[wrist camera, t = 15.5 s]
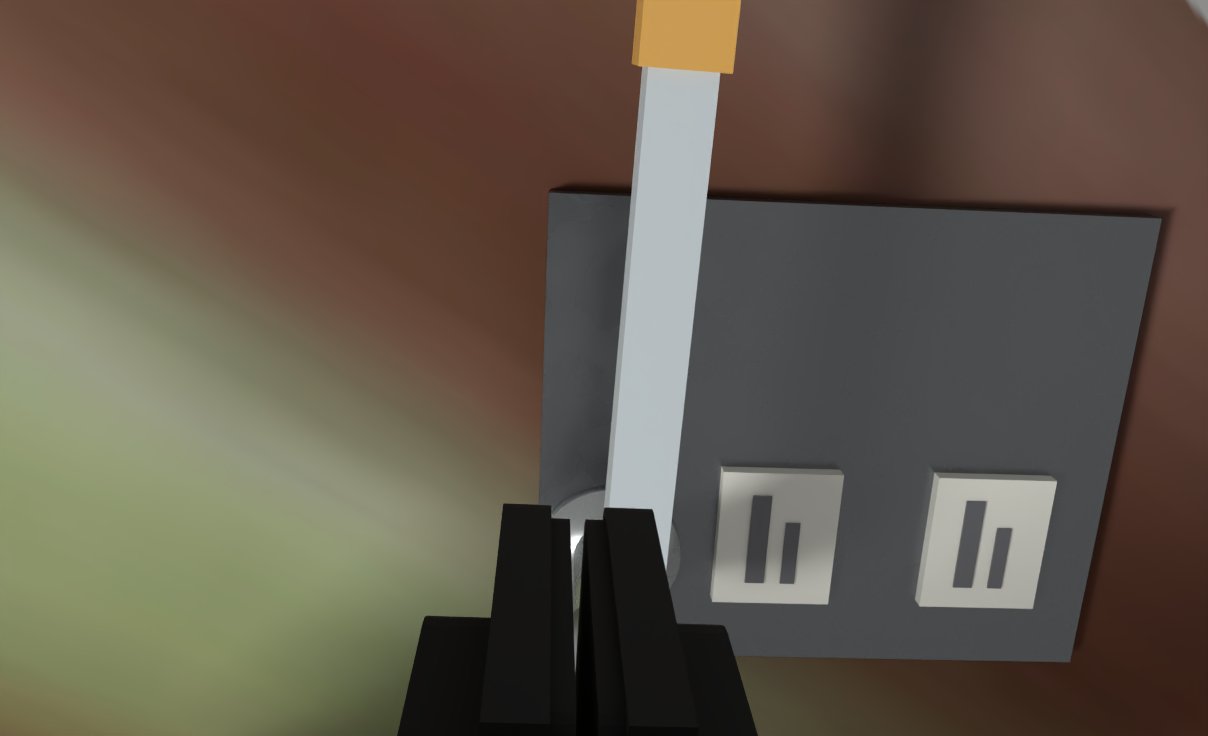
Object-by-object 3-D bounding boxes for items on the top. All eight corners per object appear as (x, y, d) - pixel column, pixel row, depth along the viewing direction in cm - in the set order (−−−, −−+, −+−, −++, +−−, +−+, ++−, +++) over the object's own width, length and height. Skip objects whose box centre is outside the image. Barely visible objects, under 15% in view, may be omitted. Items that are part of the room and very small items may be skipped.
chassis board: (1061, 652, 48) (1069, 662, 47) (534, 642, 47) (534, 652, 46) (1151, 215, 42) (1161, 218, 41) (549, 189, 41) (548, 192, 40)
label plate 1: (824, 597, 46) (828, 605, 45) (710, 594, 46) (712, 603, 45) (840, 469, 44) (844, 476, 43) (721, 466, 44) (723, 473, 43)
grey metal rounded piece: (674, 614, 46) (693, 713, 39) (535, 611, 45) (531, 711, 39) (683, 487, 44) (706, 568, 37) (539, 483, 44) (536, 564, 37)
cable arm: (673, 704, 38) (682, 758, 35) (552, 699, 38) (551, 753, 35) (754, 2, 31) (774, -1, 28) (606, -11, 31) (611, -15, 28)
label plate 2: (1026, 601, 46) (1033, 609, 46) (914, 599, 46) (920, 607, 45) (1050, 475, 45) (1058, 482, 44) (934, 472, 44) (940, 478, 44)
